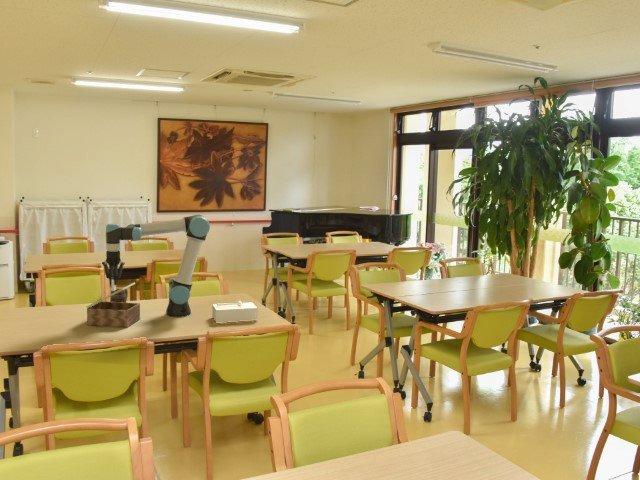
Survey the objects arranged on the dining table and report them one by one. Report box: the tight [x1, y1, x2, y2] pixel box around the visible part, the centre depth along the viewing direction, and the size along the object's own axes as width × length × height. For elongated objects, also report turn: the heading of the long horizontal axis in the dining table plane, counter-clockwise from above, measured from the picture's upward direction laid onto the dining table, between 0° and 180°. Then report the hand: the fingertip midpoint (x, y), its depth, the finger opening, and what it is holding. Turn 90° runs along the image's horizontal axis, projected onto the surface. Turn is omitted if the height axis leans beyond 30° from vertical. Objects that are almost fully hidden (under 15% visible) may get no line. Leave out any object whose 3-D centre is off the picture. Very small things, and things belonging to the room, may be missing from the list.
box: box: [86, 300, 141, 329], centre depth 344 cm, size 24×18×10 cm
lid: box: [86, 282, 136, 309], centre depth 343 cm, size 24×18×1 cm
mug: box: [109, 288, 129, 303], centre depth 366 cm, size 16×11×15 cm
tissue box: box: [211, 300, 258, 322], centre depth 359 cm, size 14×25×11 cm, turn 109°
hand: (113, 290), depth 342 cm, fingers closed
